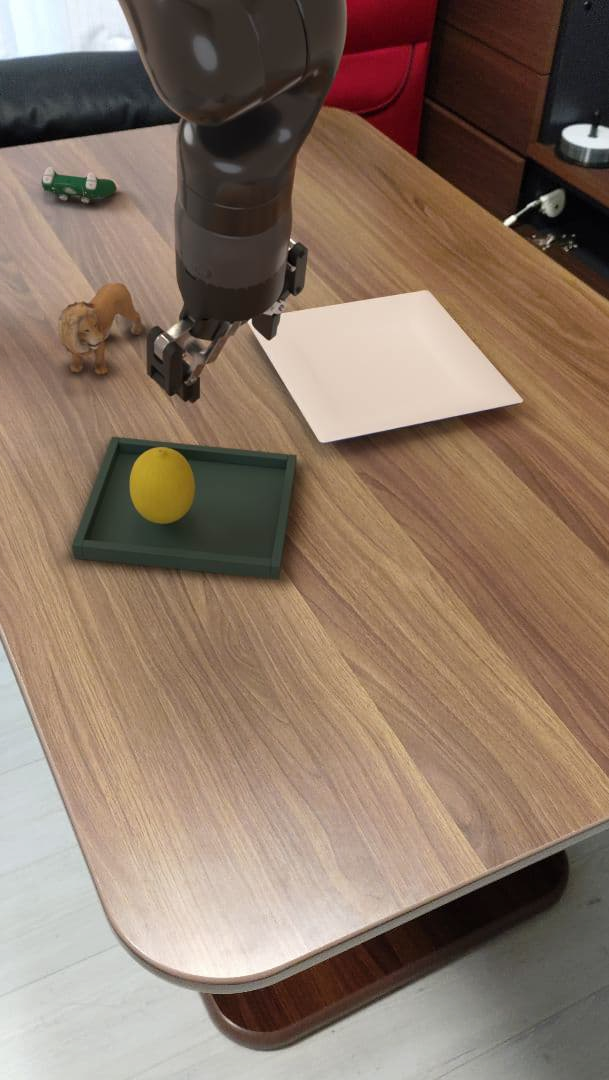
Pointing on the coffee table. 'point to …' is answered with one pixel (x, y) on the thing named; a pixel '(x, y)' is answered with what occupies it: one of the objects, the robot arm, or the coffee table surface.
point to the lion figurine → (95, 324)
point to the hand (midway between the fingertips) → (225, 362)
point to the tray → (194, 512)
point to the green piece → (77, 186)
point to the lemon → (162, 485)
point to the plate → (382, 366)
